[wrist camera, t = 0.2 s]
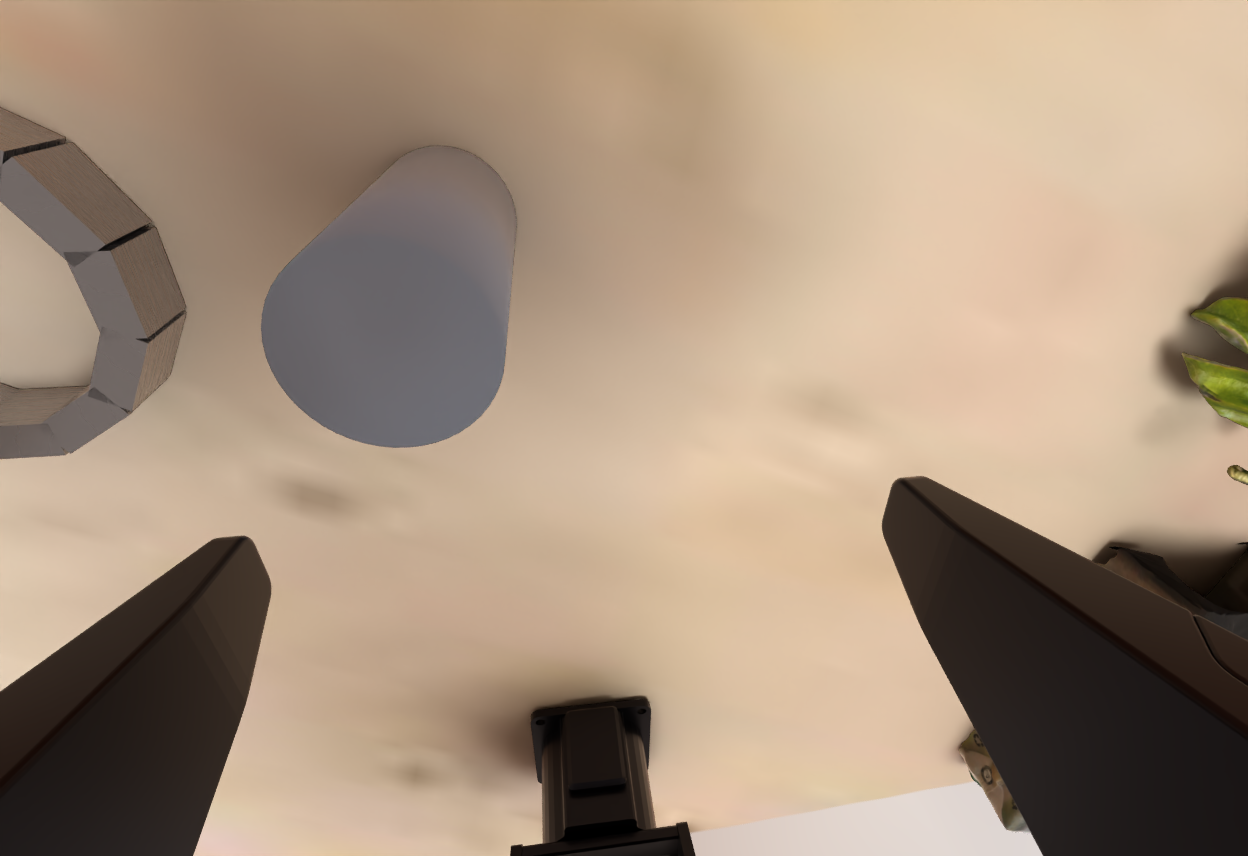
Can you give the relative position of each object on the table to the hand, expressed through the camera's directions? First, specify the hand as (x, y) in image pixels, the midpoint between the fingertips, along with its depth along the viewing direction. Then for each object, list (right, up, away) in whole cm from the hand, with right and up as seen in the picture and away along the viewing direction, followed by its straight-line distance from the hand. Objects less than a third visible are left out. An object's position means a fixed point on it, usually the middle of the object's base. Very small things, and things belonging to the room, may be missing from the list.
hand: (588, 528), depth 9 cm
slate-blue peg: (-5, +8, +12) cm, 15 cm away
